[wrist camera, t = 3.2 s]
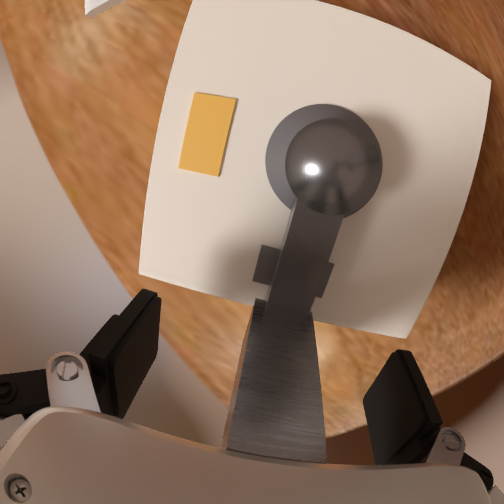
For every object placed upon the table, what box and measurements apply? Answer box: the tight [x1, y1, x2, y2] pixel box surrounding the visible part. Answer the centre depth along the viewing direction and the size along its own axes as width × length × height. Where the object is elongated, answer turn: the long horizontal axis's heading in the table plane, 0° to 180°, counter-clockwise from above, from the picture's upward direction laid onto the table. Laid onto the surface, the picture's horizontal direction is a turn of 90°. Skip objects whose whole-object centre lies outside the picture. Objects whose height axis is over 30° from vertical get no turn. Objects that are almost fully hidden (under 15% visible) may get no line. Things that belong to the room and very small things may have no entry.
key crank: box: [220, 118, 381, 464], centre depth 8 cm, size 10×3×7 cm, turn 167°
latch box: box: [139, 0, 491, 339], centre depth 12 cm, size 13×13×4 cm
